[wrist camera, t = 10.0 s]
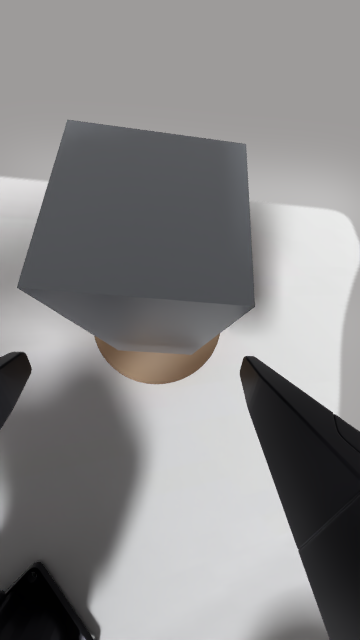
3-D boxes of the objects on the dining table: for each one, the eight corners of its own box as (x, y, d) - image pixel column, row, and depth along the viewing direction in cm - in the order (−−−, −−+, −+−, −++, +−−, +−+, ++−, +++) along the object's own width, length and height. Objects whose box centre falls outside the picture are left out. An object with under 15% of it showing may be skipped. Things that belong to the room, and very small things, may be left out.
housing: (191, 354, 17) (254, 306, 5) (118, 350, 16) (16, 287, 5) (193, 289, 18) (245, 144, 7) (127, 283, 18) (67, 119, 7)
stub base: (240, 324, 19) (265, 309, 15) (154, 412, 16) (151, 426, 12) (162, 248, 21) (163, 212, 16) (71, 317, 18) (41, 297, 14)
